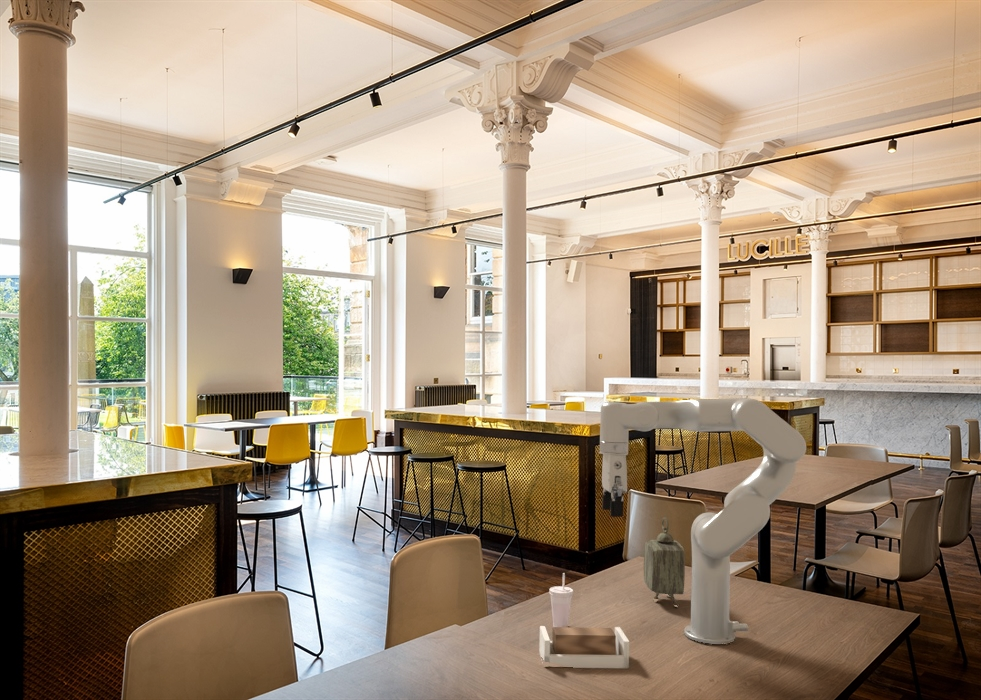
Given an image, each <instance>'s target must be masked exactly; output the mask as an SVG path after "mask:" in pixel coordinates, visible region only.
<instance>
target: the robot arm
mask: <svg viewBox="0 0 981 700" xmlns="http://www.w3.org/2000/svg"><path fill="white" fill-rule="evenodd" d="M599 420H600V423H599V424H600V426H599V428H600V429H599V454H601V455H602V466H601V467H602V470H601V471H602V472H601V485H602V488H603V489H602V506H601V507H602V508H601V509H603V511H604V510H605V511H607V510H608V511H610V513H609V515H610V517H612V518H622V517H624V494H626V493H627V492H628V471H627V470H628V468H627V467H628V465H627V456H628V455H629V430H633V431H640V432H649V431H652V430H654V429H675V430H686V431H691V432H701V433H702V432H738V431H739V432H741V431H743V432H744V433H746V434H747V435H748V436H749V437H750V438H751V439H752V440H753V441H755V442H756V443H757V444H759V446H761V447H762V451H763V458H762V460H761V463H760V464H759V465H758V467H757V468H756V469H754V471H753V472H752V473H751V474H750V475H748V476H747V477H746V478H745V479H744V480H743V481H741V482H740V483H739V484H738V485H736V487H734V488H732V489H731V491H730V492H728V493H727V494H726V496H725V498H724V502H723V508H722V509H721V510H720V511H719V512H718V513H715V512H703V513H700V514H699V515H698V516H697V517H696V518H695V519H694V520H693V523H692V524H691V530H690V542H691V543H690V544H691V581H690V582H691V585H690V586H691V589H690V590H691V591H690V592H691V595H690V601H691V602H690V624H688V625H686V626H685V627H684V630H683V631H684V635H685V636H686V637H687V639H690V640H693V641H694V640H695V642H697V641H698V643H701V642H703V643H702V644H705V643H711V644H710V645H712V644H722V643H723V644H724V643H729V642H731V641H733V640H734V639H735V640H736V634H735V633H736V632H748V631H749V626H748V624H747V623H739V621H736V620H735V621H733V620H731V619H730V595H731V594H730V591H731V589H730V584H731V583H730V582H731V581H730V580H731V559H730V558H731V555H733V554H734V553H736V552H737V551H738V550H739V549H740V548H742V546H744V545H745V544H746V543H748V542H749V541H750V540H751V539H752V538H753V537H754V536H755V535H756V534H758V533H759V532H760V531H761V530H763V528H764V527H765V526H766V525H767V523H768V521H769V519H770V517H771V507H770V505H772V504H773V503H774V502H775V501H776V500H777V499H778V498H779V497H780V496H781V495H782V494H783V493H784V492H785V491H786V490H787V489H788V487H790V485H791V484H792V482H793V480H794V477H795V475H796V469H797V462H799V461H801V460H802V459H803V458H804V456H805V454H806V453H807V444H806V440H805V438H804V437H803V435H802V434H801V433H800V432H799V431H798V430H797V429H796V428H794V427H793V426H791V425H790V424H789V423H788V422H787V421H785V420H784V419H783V418H781V417H780V416H779V415H778V414H777V413H775V412H774V411H773V410H772V409H771V408H770V407H768V405H766V404H765V403H764V402H762V401H760V400H758V399H756V398H746V397H744V398H743V397H739V398H732V397H731V398H697V399H695V398H694V399H687V400H686V399H685V400H670V401H668V400H667V401H666V400H665V401H639V402H636V403H625V402H618V401H617V402H616V401H607V402H603V403H602V404H601V406H600V419H599Z"/></svg>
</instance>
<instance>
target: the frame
mask: <svg viewBox="0 0 981 700" xmlns="http://www.w3.org/2000/svg"><path fill="white" fill-rule="evenodd" d="M614 633H615V635H616V651H615V655H575V654H555V653H554V650H553V647H552V640H551V639H550V636H549V634H548V631H547V628H546V626H545V625H540V626H539V641H538V642H539V644H538V649H539V650H538V653H539V655H540V658H541V657H542V658H543V660H544V662H549V663H556V664H561V665H564V666H568V667H573V669H576V668H578V669H580V668H581V669H629V667H630V664H629V663H630V640H629V639H628V637H627V636H626V633H624V631H623V629H621V627H620V626H614Z"/></svg>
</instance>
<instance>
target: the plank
mask: <svg viewBox="0 0 981 700" xmlns="http://www.w3.org/2000/svg"><path fill="white" fill-rule="evenodd" d="M551 637H552V640H551V641H552V647H553V650H554V653H555V654H575V655H616V654H615V651H616V635H615V631H614V630H613V629H612V628H611V627H578V626H577V627H569V626H567V627H553V626H552V636H551ZM554 653H553V654H554Z"/></svg>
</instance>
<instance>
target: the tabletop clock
mask: <svg viewBox="0 0 981 700" xmlns="http://www.w3.org/2000/svg"><path fill="white" fill-rule="evenodd" d="M664 523H666V526H664ZM669 525H670V524H669V520H668V518H667V517H665V516H664V517H663V518H662V519H661V527H662V528H661V529H662V532H660V533H659V534H658V535H657V536H656V539H650V540H648V541H645V542H644V548H643V580H644V583H645V585H646V587H647V588H648V589H649V591H652V592H654V593H655V596H653V598H654V599H659V595H661V594H663V595H665V594H668V595H669V597H670V598H671V600H672V602H673V604H674V605H677V606H678V605H679V606H680V604H679V603H678V602H677V601H676V600H675V596H674V595H683V594H684V591H685V576H686V575H685V574H686V573H685V572H686V570H685V569H686V561H685V560H686V559H685V557H686V556H685V549H684V547H683V546H682V545H681V543H680V542H679V541H677V540H674V538H673V535H672V534H670V533H668V532H669Z"/></svg>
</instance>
